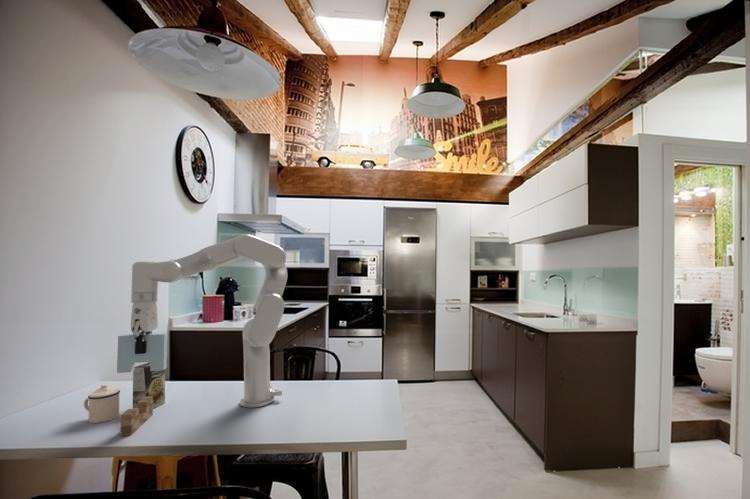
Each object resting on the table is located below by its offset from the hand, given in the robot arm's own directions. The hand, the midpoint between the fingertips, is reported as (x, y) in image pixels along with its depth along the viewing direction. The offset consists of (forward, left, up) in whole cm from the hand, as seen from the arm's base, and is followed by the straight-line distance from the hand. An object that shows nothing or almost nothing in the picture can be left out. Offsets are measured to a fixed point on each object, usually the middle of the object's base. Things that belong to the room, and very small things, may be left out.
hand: (142, 351), depth 122 cm
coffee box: (+4, -17, -24) cm, 30 cm away
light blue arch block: (0, 0, -6) cm, 6 cm away
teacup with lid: (+17, -10, -24) cm, 31 cm away
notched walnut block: (+2, 0, -24) cm, 24 cm away
